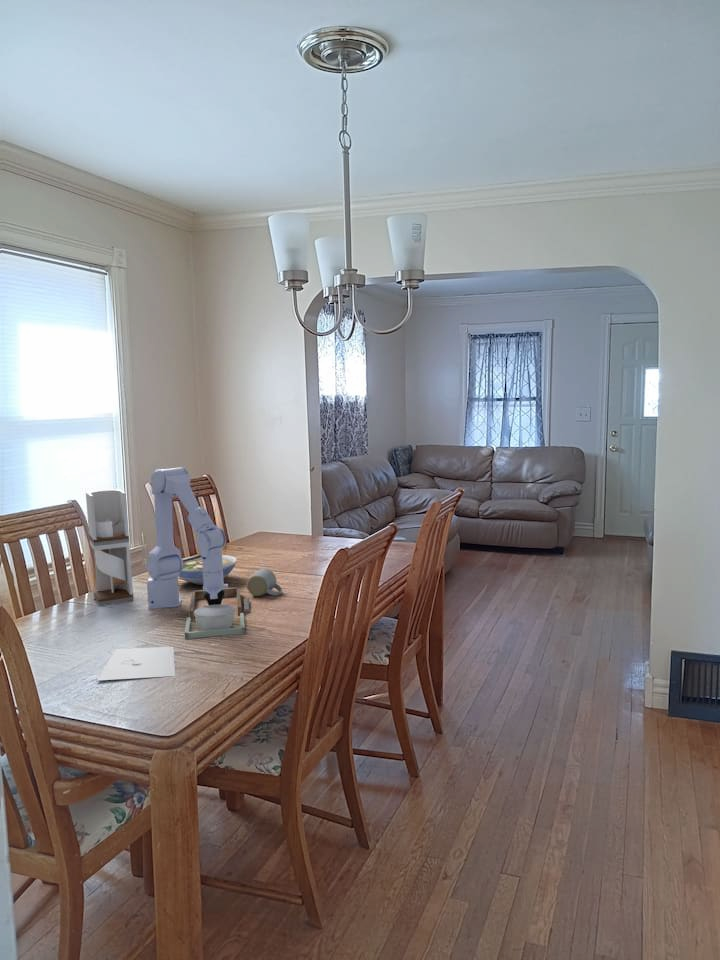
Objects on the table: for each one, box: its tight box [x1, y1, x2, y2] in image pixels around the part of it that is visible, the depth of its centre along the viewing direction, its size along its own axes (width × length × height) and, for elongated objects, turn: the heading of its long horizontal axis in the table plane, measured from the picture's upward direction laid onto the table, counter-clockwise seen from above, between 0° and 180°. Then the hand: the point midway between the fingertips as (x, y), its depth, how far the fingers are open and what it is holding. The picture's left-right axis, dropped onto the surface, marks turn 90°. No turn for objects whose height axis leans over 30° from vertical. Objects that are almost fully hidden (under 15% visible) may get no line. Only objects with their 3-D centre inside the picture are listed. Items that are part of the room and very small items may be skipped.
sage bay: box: [184, 612, 246, 640], centre depth 202 cm, size 16×14×2 cm
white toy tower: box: [85, 488, 134, 606], centre depth 233 cm, size 11×11×35 cm
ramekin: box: [194, 603, 236, 631], centre depth 202 cm, size 11×11×5 cm
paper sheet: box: [96, 646, 176, 681], centre depth 178 cm, size 24×29×1 cm
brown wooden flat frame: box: [188, 586, 243, 620], centre depth 223 cm, size 15×23×2 cm, turn 11°
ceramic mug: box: [246, 567, 283, 597], centre depth 235 cm, size 11×8×8 cm
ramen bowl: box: [178, 554, 238, 586], centre depth 252 cm, size 25×23×8 cm
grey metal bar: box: [243, 597, 250, 614], centre depth 221 cm, size 1×12×1 cm, turn 9°
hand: (215, 616), depth 209 cm, fingers closed
